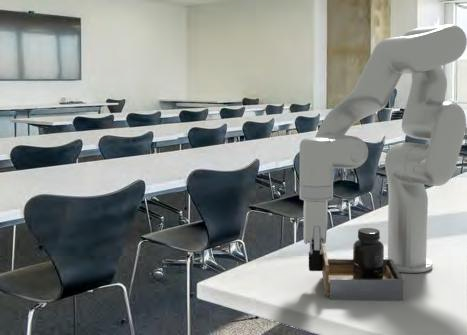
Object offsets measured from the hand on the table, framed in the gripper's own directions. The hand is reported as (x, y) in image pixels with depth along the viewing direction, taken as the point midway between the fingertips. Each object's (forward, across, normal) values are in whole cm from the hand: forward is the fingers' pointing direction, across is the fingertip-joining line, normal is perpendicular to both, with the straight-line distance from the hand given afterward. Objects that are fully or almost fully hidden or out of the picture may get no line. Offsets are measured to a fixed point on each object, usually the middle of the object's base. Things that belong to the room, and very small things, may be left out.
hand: (315, 269), depth 135 cm
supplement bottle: (+3, 0, +12) cm, 12 cm away
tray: (+3, 0, +9) cm, 10 cm away
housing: (+4, 0, +10) cm, 11 cm away
